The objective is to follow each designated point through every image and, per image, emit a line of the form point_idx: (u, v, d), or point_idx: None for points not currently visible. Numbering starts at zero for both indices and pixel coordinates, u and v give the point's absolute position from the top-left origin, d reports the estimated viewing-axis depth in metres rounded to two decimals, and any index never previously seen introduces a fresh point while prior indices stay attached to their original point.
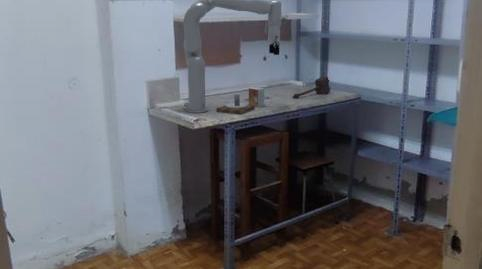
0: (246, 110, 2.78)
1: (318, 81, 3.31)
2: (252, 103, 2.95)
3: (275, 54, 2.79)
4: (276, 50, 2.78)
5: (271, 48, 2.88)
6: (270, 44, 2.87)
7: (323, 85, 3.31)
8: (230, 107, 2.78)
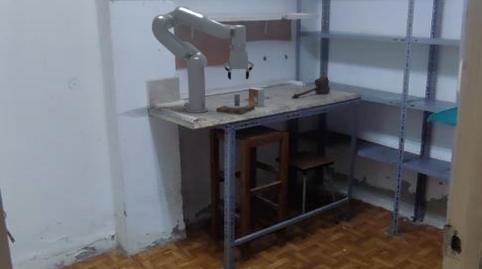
0: (246, 110, 2.78)
1: (317, 81, 3.31)
2: (252, 103, 2.95)
3: (247, 78, 2.76)
4: (248, 74, 2.76)
5: (230, 74, 2.74)
6: None
7: (323, 85, 3.31)
8: (230, 107, 2.78)
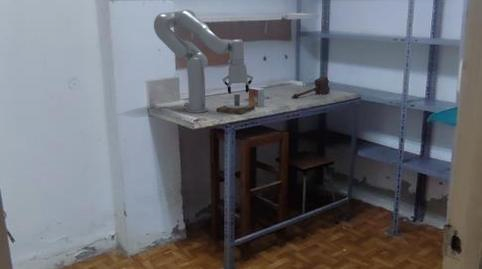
0: (246, 110, 2.78)
1: (317, 81, 3.31)
2: (252, 103, 2.95)
3: (247, 92, 2.78)
4: None
5: (230, 88, 2.75)
6: (230, 84, 2.74)
7: (322, 85, 3.31)
8: (230, 107, 2.78)
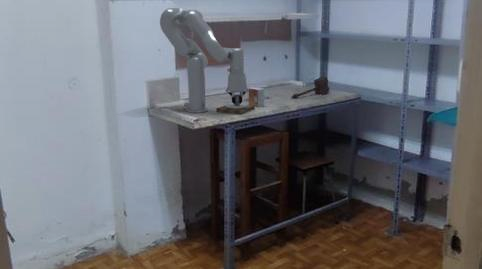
0: (246, 110, 2.78)
1: (317, 81, 3.31)
2: (252, 103, 2.95)
3: None
4: None
5: (234, 98, 2.78)
6: None
7: (322, 85, 3.31)
8: (230, 107, 2.78)
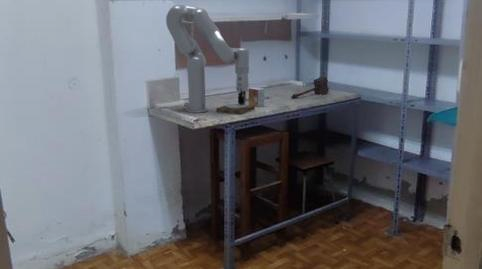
0: (246, 110, 2.78)
1: (316, 81, 3.31)
2: (252, 103, 2.95)
3: None
4: None
5: None
6: (243, 93, 2.78)
7: (322, 85, 3.31)
8: (240, 107, 2.78)
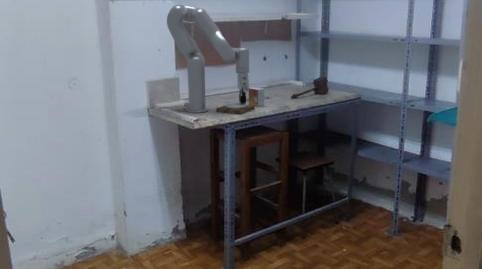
0: (246, 110, 2.78)
1: (316, 81, 3.30)
2: (252, 103, 2.95)
3: None
4: None
5: None
6: None
7: (321, 85, 3.31)
8: (244, 106, 2.80)
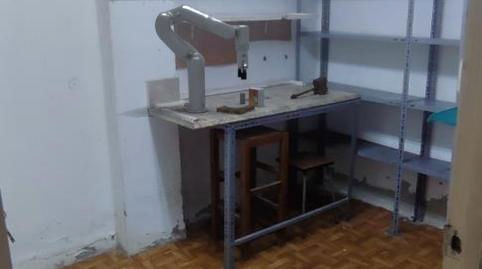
0: (246, 110, 2.78)
1: (315, 81, 3.30)
2: (252, 103, 2.95)
3: (241, 76, 2.85)
4: None
5: None
6: (245, 70, 2.75)
7: (321, 85, 3.30)
8: (244, 106, 2.80)
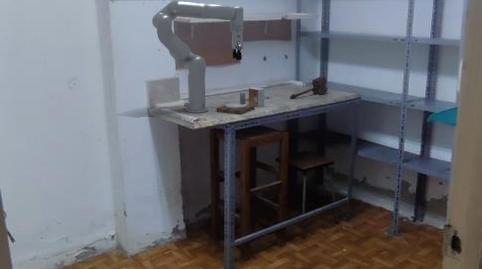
0: (246, 110, 2.78)
1: (315, 81, 3.30)
2: (252, 103, 2.95)
3: (236, 57, 2.91)
4: None
5: None
6: None
7: (320, 85, 3.30)
8: (244, 106, 2.80)
